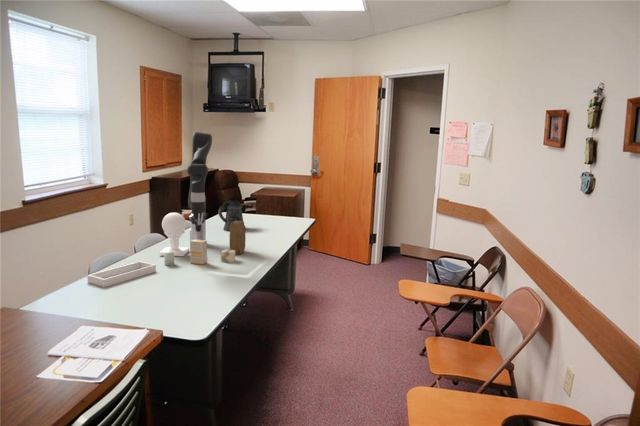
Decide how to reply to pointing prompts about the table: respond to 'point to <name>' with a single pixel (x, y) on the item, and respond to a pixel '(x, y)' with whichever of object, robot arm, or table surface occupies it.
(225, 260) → the light wooden cube
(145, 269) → the tray
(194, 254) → the supplement box
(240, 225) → the block
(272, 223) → the table surface
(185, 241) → the table surface
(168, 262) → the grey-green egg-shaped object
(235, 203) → the beer stein
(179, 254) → the trophy
